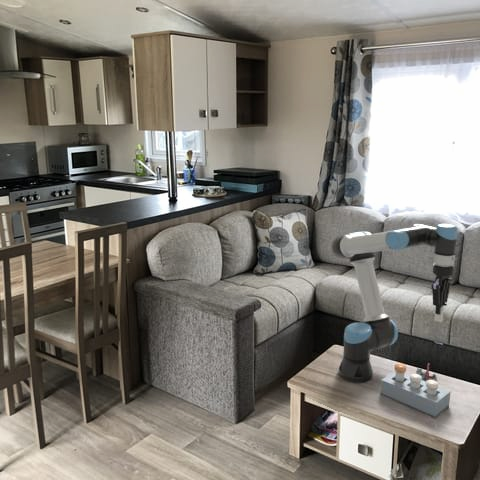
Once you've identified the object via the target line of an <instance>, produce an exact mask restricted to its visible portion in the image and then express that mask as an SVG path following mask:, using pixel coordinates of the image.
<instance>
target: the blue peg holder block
mask: <svg viewBox="0 0 480 480" xmlns="http://www.w3.org/2000/svg"><path fill="white" fill-rule="evenodd" d="M395 373H396V371H395V370H394V371H392V372H391V373H389V374H388V375H386V376H385V377H383V378H381V381H380V392H379V393H380V394H379V395H380V396H382V397H384V398H387V399H389V400H391V401H393V402H395V403H398V404H400V405H403V406H404V407H407V408H409V409H411V410H414V411H417V412H418V413H421V414H423V415H425V416H428V417H430V418H432V419H434V420H436V419H437V418H438V417H439V416H441V415H442V413H444V412H445V411H446V410H447V409H448V408H449V407H450V399H451V390H449V389H447V388H443V387H441V386H438V389H437V392H436V396H435V397H434V396H432V395H429V394H427V387H426V381H423V380H422V381H421V382H420V389H419V390H417V389H414V388H412V387H410V385H411V381H410V375H411V374H407V373H405V375H404V382H403V383H400V382H397V381H395Z"/></svg>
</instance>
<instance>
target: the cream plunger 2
mask: <svg viewBox="0 0 480 480" xmlns="http://www.w3.org/2000/svg"><path fill="white" fill-rule="evenodd" d="M439 384H440V383H439V382H438V380H437V381H434V380H427V381H426V387H427V394H429V395H432V396H434V397H435V396H436V392H437V389H438V387H439Z"/></svg>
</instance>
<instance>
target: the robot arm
mask: <svg viewBox="0 0 480 480" xmlns="http://www.w3.org/2000/svg"><path fill="white" fill-rule="evenodd" d="M457 242H458V227H457V226H456V225H454V224H451V223H449V224H448V223H440V224H437V226H436V227H434V226H430V225H425V224H422V223H421V224H420V223H415V224H413V225H411V226H410V227H408V228H407V227H406V228H401V229H395V230H387V231H383V232H376V233H371V232H369V231H357V232H350V233H344V234H339V235H337V236H335V238H333V240H332V241H331V244H330V249H331V253H332V254H333V256H335V257H336V258H337V259H339V260H349V263H350V264H351V265H352V266H353V267H354V271H355V275H356V278H357V279H356V280H357V284H358V288H359V293H360V297H361V300H362V305H363V309H364V314H365V317H364V319H363V320H362V321H363V322H360V321H359V322H352V323H350V324H348V325H347V326H346V327H345V328H344V334H343V352H342V353H343V356H342V359H341V362H340V365H339V367H338V376H339V377H340V378H342V379H343V380H344V381H347V382H351V383H356V384H360V383H361V384H363V383H368V382H370V381H371V380H372V379H373V376H374V370H373V369H372V368H373V367H372V364H371V352H373V351H377V350H379V349H382V348H387V347H389V346H392V345H393V344H395V343H396V341H397V340H398V336H399V330H398V326H397V324H396V323H395V322H394V321H393V320H392V319H390V315H388V314H387V313H385V309H384V305H383V301H382V297H381V292H380V287H379V283H378V280H377V274H376V270H375V266H374V260H375V259H376V257H375V254H376V252H378V253H379V252H383V251H393V250H394V251H395V250H397V251H398V250H404V249H408V248H412V247H413V248H414V247H419V246H424V245H425V246H429V247H432V248H434V253H433V262H432V263H433V266H432V273H433V275H435V279H434V283H432V284H431V290H432V306H435V307H434V308H435V309H434V310H435V311H434V320H433V321H434V322H438V323H442V322H444V320H443V319H444V309H445V307H446V306H447V305H448V304H447V303H448V299H449V293H450V290H451V284H452V282H453V278H450V277H452V276H453V275H454V272H455V271H454V270H455V266H454V265H455V261H456V259H457V257H455V256H456V247H457Z"/></svg>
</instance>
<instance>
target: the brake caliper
mask: <svg viewBox="0 0 480 480" xmlns="http://www.w3.org/2000/svg"><path fill="white" fill-rule="evenodd" d="M429 372H430V363H427V367H426V370H424V369H423V368H419V367H417V368H416V372H415V373H414V374H419V375H421V376H422V380H423V381H427V380H434V381H437V382H438V378H437V374H436V373H433V374H432V375H430V373H429Z"/></svg>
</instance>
